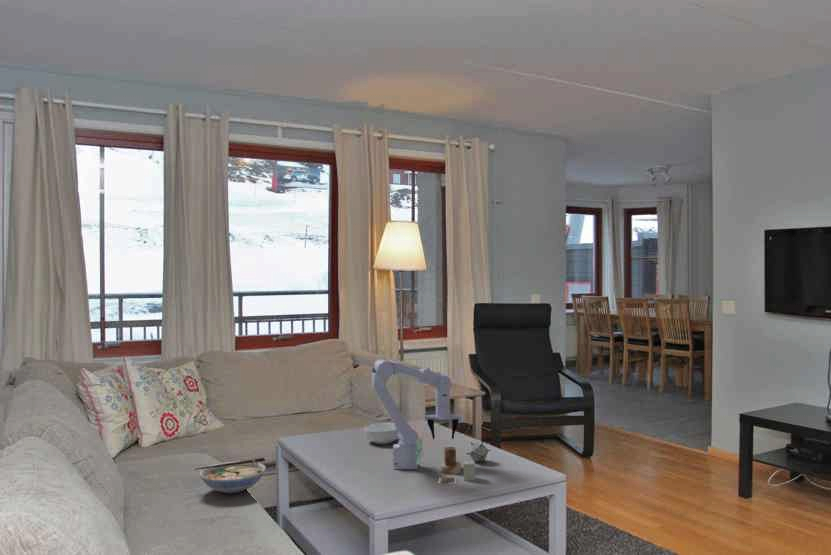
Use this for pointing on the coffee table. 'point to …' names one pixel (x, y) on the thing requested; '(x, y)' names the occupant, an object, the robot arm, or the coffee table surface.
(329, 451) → the coffee table surface
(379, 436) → the cereal bowl
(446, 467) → the oak base block
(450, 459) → the walnut block
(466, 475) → the sage green block
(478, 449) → the game die
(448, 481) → the swatch
